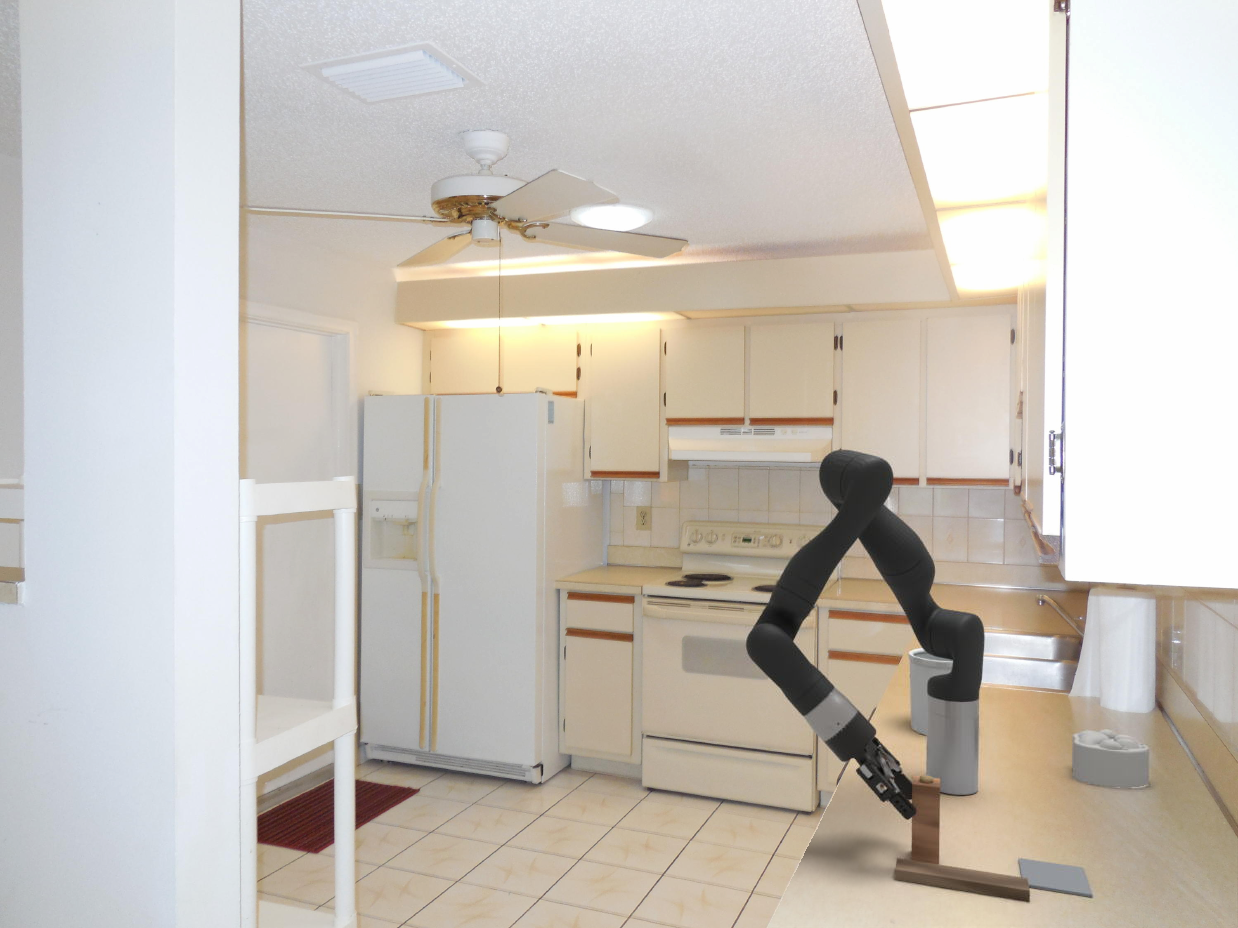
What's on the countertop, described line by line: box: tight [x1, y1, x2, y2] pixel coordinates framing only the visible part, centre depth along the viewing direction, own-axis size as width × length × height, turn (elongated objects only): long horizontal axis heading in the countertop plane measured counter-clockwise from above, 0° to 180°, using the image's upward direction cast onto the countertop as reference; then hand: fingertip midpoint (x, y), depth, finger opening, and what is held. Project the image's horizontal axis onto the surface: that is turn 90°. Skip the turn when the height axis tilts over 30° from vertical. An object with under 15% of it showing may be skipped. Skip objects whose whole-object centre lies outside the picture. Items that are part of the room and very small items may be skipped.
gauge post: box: [910, 774, 941, 865], centre depth 139 cm, size 4×4×13 cm
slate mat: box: [1017, 857, 1094, 898], centre depth 133 cm, size 9×9×1 cm
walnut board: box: [894, 857, 1031, 902], centre depth 130 cm, size 4×18×2 cm, turn 70°
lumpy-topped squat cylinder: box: [1071, 728, 1150, 788], centre depth 174 cm, size 10×13×9 cm
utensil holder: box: [908, 647, 953, 736], centre depth 205 cm, size 15×15×18 cm
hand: (913, 805), depth 139 cm, fingers open, 8 cm apart
